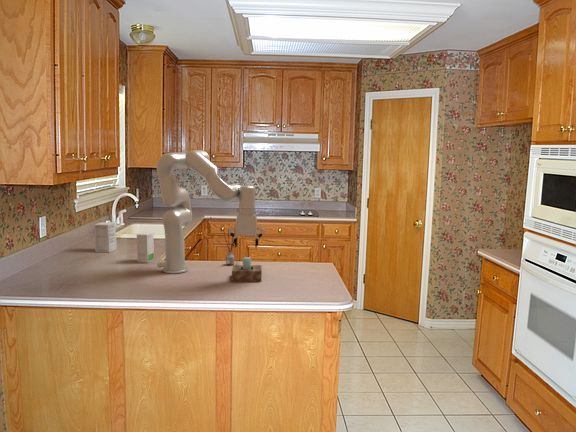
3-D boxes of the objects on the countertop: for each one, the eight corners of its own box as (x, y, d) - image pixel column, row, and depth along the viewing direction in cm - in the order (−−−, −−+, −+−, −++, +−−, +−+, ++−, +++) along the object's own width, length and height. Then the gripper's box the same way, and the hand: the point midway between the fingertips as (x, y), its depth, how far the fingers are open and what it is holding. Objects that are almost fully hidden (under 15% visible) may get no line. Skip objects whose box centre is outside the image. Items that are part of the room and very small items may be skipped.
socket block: (231, 281, 241) (231, 271, 240) (233, 275, 253) (233, 265, 252) (261, 281, 242) (261, 271, 241) (261, 275, 253) (261, 265, 253)
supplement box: (117, 249, 311) (116, 222, 309) (109, 252, 302) (108, 224, 300) (102, 249, 312) (101, 221, 310) (94, 252, 303) (93, 224, 301)
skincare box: (147, 263, 276) (146, 234, 274) (136, 262, 278) (135, 234, 275) (154, 259, 284) (154, 232, 282) (143, 259, 286) (143, 231, 284)
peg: (242, 279, 245) (242, 259, 244) (242, 277, 249) (242, 257, 248) (250, 279, 245) (250, 259, 244) (251, 277, 249) (251, 257, 248)
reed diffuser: (220, 264, 274) (220, 228, 271) (226, 262, 280) (226, 226, 278) (237, 266, 270) (237, 229, 268) (243, 264, 277) (243, 227, 274)
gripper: (228, 212, 239) (227, 247, 241) (264, 213, 239) (264, 248, 242) (229, 210, 246) (228, 244, 248) (264, 210, 247) (264, 245, 249)
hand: (246, 246), depth 245 cm, fingers open, 9 cm apart
